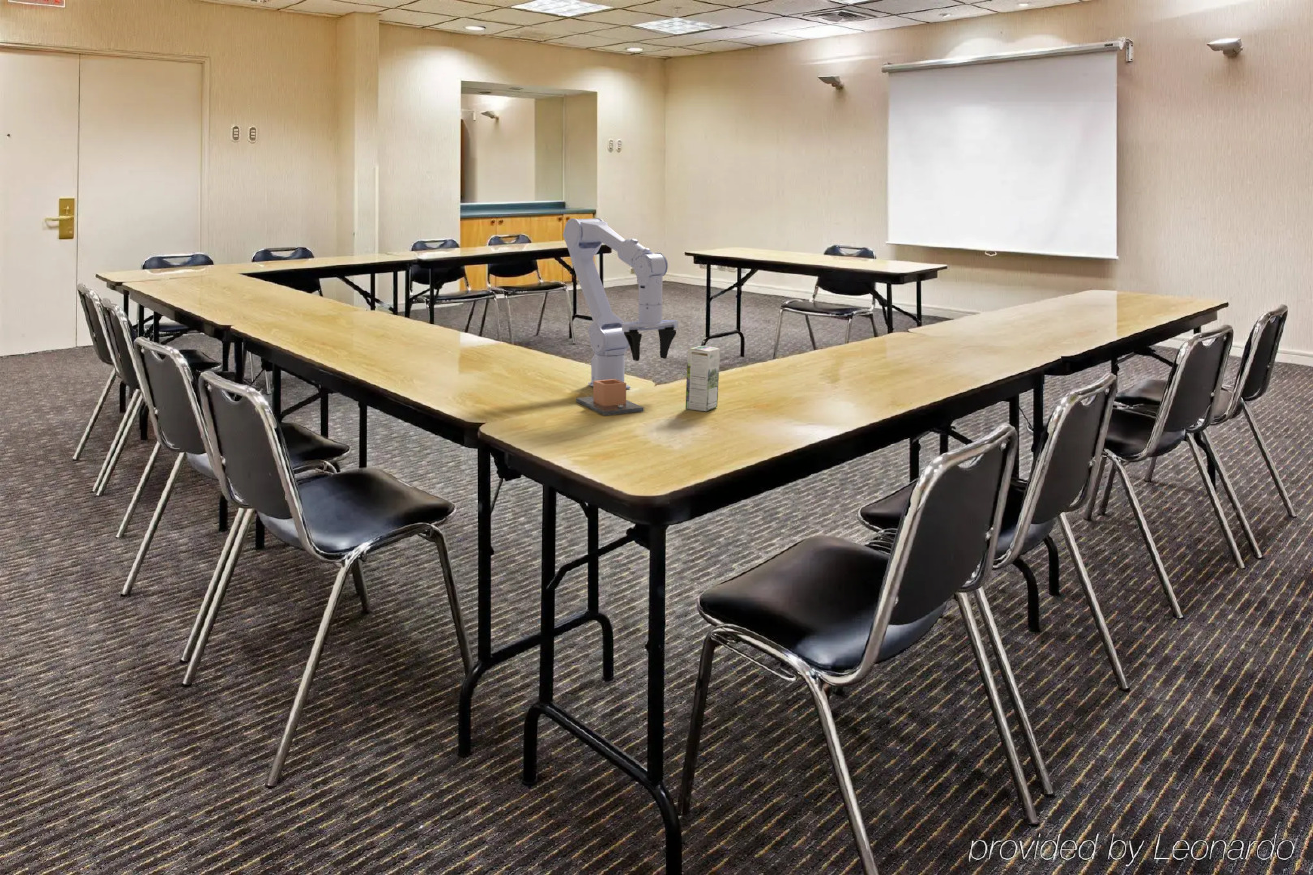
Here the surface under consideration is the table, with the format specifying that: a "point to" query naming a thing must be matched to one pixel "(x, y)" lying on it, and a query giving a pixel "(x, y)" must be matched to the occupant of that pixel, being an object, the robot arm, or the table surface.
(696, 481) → the table surface
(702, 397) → the syrup box
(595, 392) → the collar
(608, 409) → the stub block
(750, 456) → the table surface
